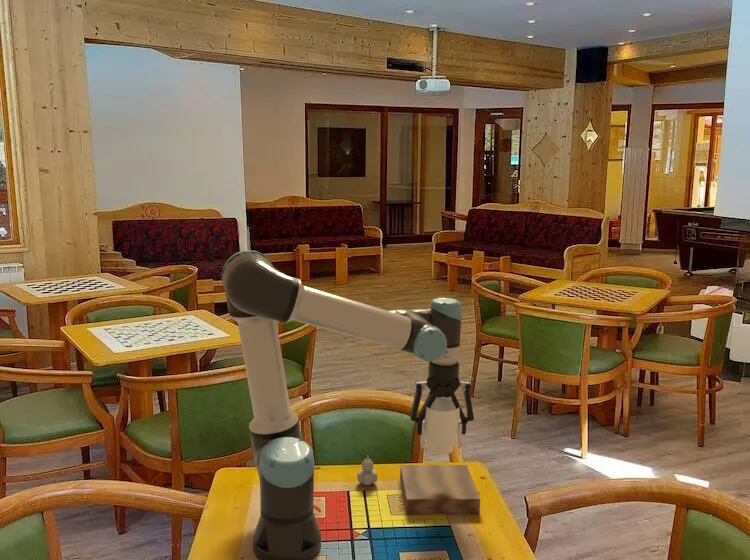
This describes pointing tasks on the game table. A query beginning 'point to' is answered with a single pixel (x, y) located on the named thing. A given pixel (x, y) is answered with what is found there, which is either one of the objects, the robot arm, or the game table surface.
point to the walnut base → (439, 489)
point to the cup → (441, 426)
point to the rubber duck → (367, 473)
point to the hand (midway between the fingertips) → (440, 445)
